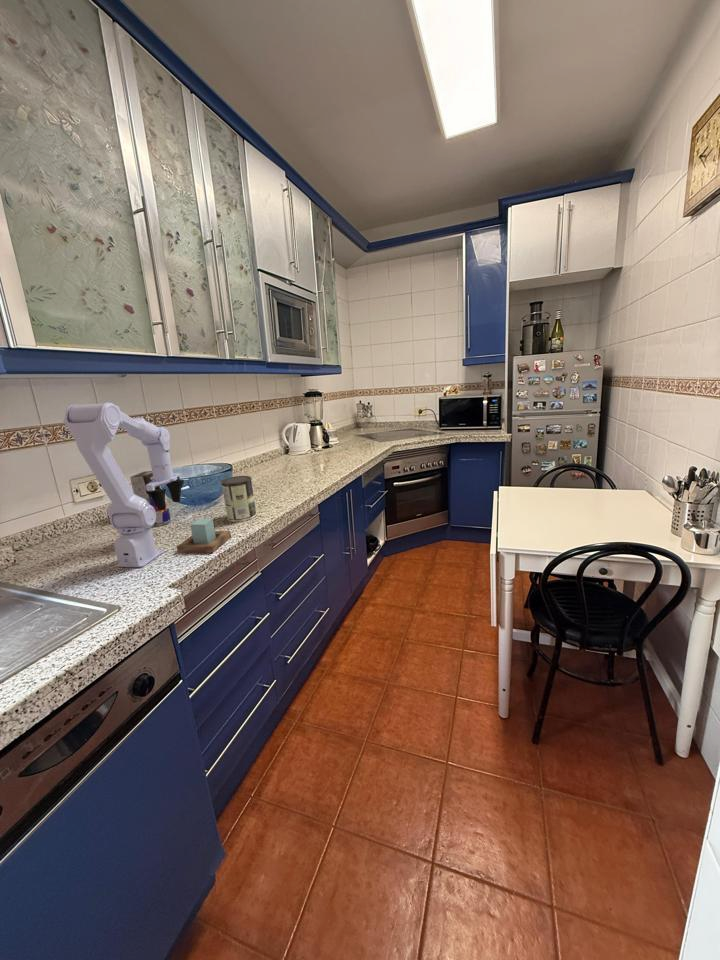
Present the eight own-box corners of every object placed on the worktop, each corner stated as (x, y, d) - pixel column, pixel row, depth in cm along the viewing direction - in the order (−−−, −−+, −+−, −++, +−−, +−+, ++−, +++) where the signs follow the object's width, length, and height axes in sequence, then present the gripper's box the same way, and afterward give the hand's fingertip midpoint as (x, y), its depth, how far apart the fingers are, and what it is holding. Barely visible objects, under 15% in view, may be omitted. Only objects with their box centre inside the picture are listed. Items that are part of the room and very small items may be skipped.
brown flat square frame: (213, 553, 106) (212, 546, 105) (178, 552, 107) (176, 546, 107) (231, 536, 116) (230, 531, 116) (198, 536, 118) (197, 531, 117)
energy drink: (158, 527, 128) (151, 494, 125) (151, 524, 131) (144, 492, 128) (174, 522, 132) (167, 490, 129) (166, 519, 135) (160, 488, 132)
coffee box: (155, 517, 138) (146, 475, 134) (138, 518, 138) (128, 476, 134) (167, 509, 147) (159, 469, 143) (151, 510, 147) (143, 470, 143)
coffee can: (246, 510, 141) (241, 474, 137) (262, 515, 134) (257, 477, 130) (221, 518, 133) (215, 480, 129) (236, 524, 126) (230, 484, 123)
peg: (208, 546, 109) (204, 524, 107) (194, 546, 110) (190, 524, 108) (216, 540, 113) (212, 518, 112) (202, 540, 114) (198, 518, 112)
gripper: (157, 470, 109) (166, 513, 113) (186, 459, 123) (193, 498, 126) (136, 470, 110) (145, 513, 114) (166, 460, 124) (174, 498, 127)
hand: (169, 505), depth 120 cm, fingers open, 7 cm apart
